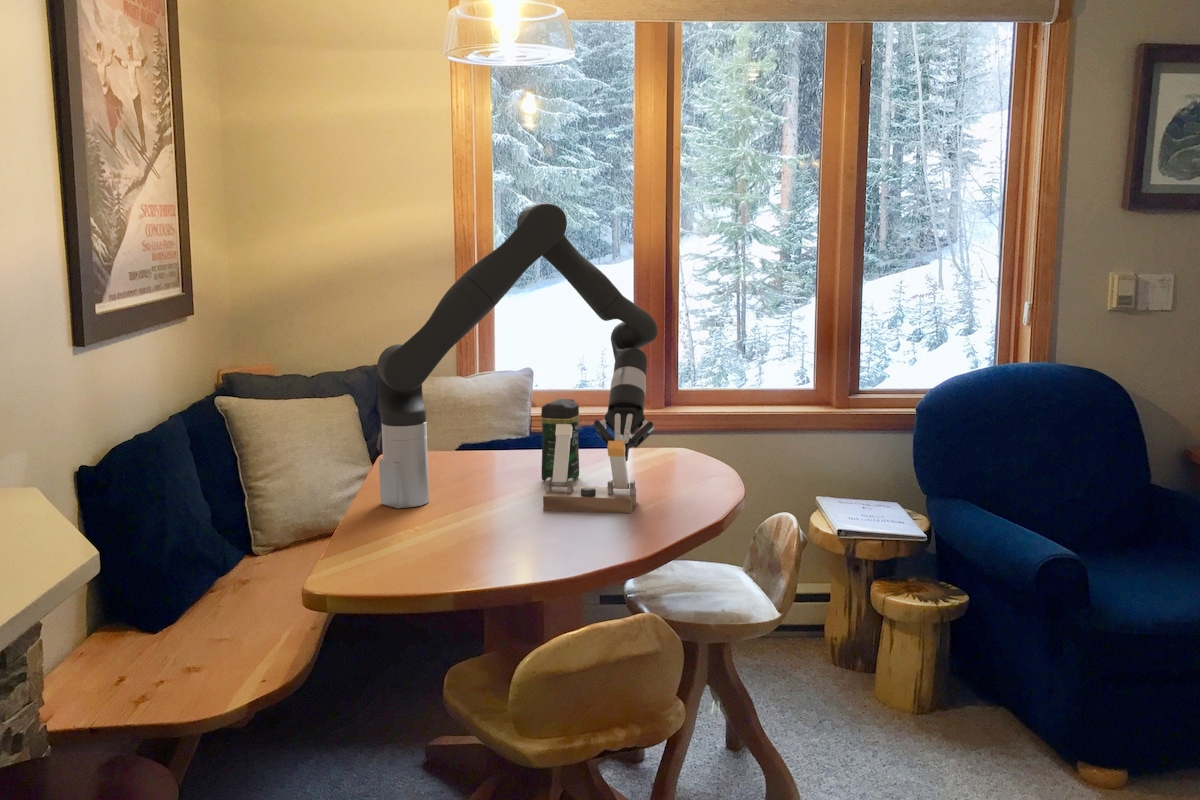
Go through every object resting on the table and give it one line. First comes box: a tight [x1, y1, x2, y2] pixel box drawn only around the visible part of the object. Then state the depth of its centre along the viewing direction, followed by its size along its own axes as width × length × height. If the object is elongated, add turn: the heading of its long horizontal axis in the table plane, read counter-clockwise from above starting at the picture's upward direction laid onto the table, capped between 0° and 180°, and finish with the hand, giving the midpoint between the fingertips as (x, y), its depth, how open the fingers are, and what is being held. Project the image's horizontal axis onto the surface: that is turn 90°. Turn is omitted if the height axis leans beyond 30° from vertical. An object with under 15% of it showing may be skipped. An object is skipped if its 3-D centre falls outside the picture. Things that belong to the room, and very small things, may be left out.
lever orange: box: [606, 440, 630, 489], centre depth 211 cm, size 2×3×13 cm
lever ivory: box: [551, 424, 573, 487], centre depth 220 cm, size 2×3×13 cm, turn 81°
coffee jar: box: [540, 398, 580, 482], centre depth 239 cm, size 10×8×19 cm
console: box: [542, 478, 637, 514], centre depth 217 cm, size 9×18×6 cm, turn 81°
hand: (620, 462), depth 213 cm, fingers closed
